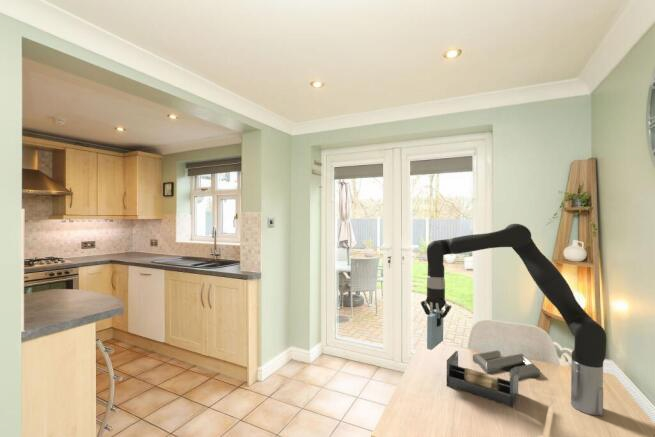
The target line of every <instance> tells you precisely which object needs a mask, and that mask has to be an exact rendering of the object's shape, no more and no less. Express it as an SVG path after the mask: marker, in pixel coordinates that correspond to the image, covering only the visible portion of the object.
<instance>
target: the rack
mask: <svg viewBox="0 0 655 437" xmlns="http://www.w3.org/2000/svg"><path fill="white" fill-rule="evenodd" d="M466 368H467V367H462V366H459V351H458V350H455V351H454V352H453V353H452V354H451V356H449V357H448V358H447V359H446V386H447V387H449V388H453V389H455V390H458V391H461V392H464V393H468V394H469V395H473V396H475V397H476V396H477V397H479V398H483V399H486V400H488V401H492V402H494V403H497V404H500V405H503V406H506V407H510V408H512V409H513V408H514V406H515V403H516V401H517V398H518V395H519V380H518V367H515V369H514V371H513V373H512V375H511V377H510V376H509V380H507V379H504V378H500V377H498V391H496V390H493V389H490V388H487V387H483V386H480V385H477V384H474V383H470V382H467V381H465V369H466Z"/></svg>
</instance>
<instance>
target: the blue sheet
mask: <svg viewBox="0 0 655 437" xmlns="http://www.w3.org/2000/svg"><path fill="white" fill-rule="evenodd" d="M443 313H444V309H442V314H443ZM426 317H427V319H426V321H427V322H426V329H427V330H426V349H427V350H430V351H432V350H434V349H435V348H436V347H437V346H438V345H439V344H441V343H443V341H444V318H441V325H440V326H439V327H437V312H436V310H435V311H434V312H433V313H431V314H430V315H426Z"/></svg>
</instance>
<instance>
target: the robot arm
mask: <svg viewBox="0 0 655 437" xmlns="http://www.w3.org/2000/svg"><path fill="white" fill-rule="evenodd" d="M495 248H496V249H497V248H512V249H513V251H514V252H515V253H516V254H517V255H518V256H519V258H520V259H521V260H522V263H523V265H524V266H525V268H526V270H527V271H528V273H529V275H530V276H531V278H532V279H533V281H534V283H535V284H536V285H537V287H538V289H539V290H540V291H541V293H542V294H543V295H544V297H545V298H546V299H547V300H548V301H549V302H550V303H551V304H552V305H553V306H554V308H556V309H557V310H558V312H559V314H560V315H561V317H562V319H563V320H564V322H565V323H566V325H567V327H568V329H569V332H570V333H571V334H572V335H573V336H574V345H573V346H574V347H573V348H574V349H573V350H572V351H571V360H570V361H571V367H570V368H571V370H570V371H571V372H570V373H571V374H570V375H571V377H570V380H571V381H570V383H571V385H570V389H571V390H570V405H571V407H573V408H575V409H576V410H577V411H579V412H581V413H584V414H587V415H590V416H591V415H592V416H600V417H604V361H605V359H606V356H607V354H606V353H607V333H606V331H605V329H604V328H603V327H602V325H601V324H599V322H597V321H595V320H594V319H593V318H592V317H591V316H590V315H589V314H588V313H587V312H586V311H585V310H584V309H583V307H582V306H581V304H580V303H579V302H578V301H577V299H576V297H575V295H574V292H573V291H572V288H571V286H570V285H569V283H568V282H567V280H566V279H565V278H564V276H563V275H562V274H561V271H560V270H559V269H558V268H557V267H556V266H555V265H554V263H552V262H551V260H549V258H547V257H546V255H544V253H542V251H541V250H540V249H539V248H538V246H537V245H536V243H535V242H534V240H533V238H532V233H531V230H530V229H529V228H528V227H527V226H525V225H524V224H521V223H511V224H508V225H507V226H506V227H505V228H503V229H500V230H497V231H493V232H487V233H486V232H485V233H478V234H468V235H463V236H462V235H461V236H457V237H453V238H446V239H437V240H433V241H432V242H429V244H428V245H427V247H426V259H427V260H426V261H427V277H426V298H425V300H422V301H420V305H421V307H422V309H423V312H424V313H425V315H426V316H428V315H430V314H431V313H433V312H435V311H436V312H437V327H439V326H440V325H441V318H443V319H444V318H446V316H447V315H448V314H449V313H450V310H451V309H452V308H453V307H452V305H451V304H450V305H449V304H448V303H447V301H446V279H445V266H444V265H445V264H444V256H446V255H451V254H452V255H453V254H454V255H459V254H463V253H464V254H465V253H471V252H476V251H483V250H487V249H489V250H490V249H495ZM443 308H444V309H445V310H443ZM442 310H443V314H442Z"/></svg>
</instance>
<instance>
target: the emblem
mask: <svg viewBox="0 0 655 437" xmlns="http://www.w3.org/2000/svg"><path fill="white" fill-rule="evenodd" d="M472 361H473V362H474V364H477V365H479V367H480V368H481V369H482V370H483V371H484V373H485V374H489V375H490V374H493V373H497V372H501V371H502V372H507V373H509V378H510V377H511V375H512V373H513V371H514V369H515V367H518V381H519V380H523V379H525V378H529V379H535V378H538V377H540V376H541V370H540V368H538V366H536V365H535V364H534V363H533V362H532V361H531V360H530V359H529V358H528V357H527V356H525V355H524V354H523V353H517V354H511V355H505V356H502V354H501V351H500V350H493V351H485V352H480V353H475V354H474V353H473V354H472Z"/></svg>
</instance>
